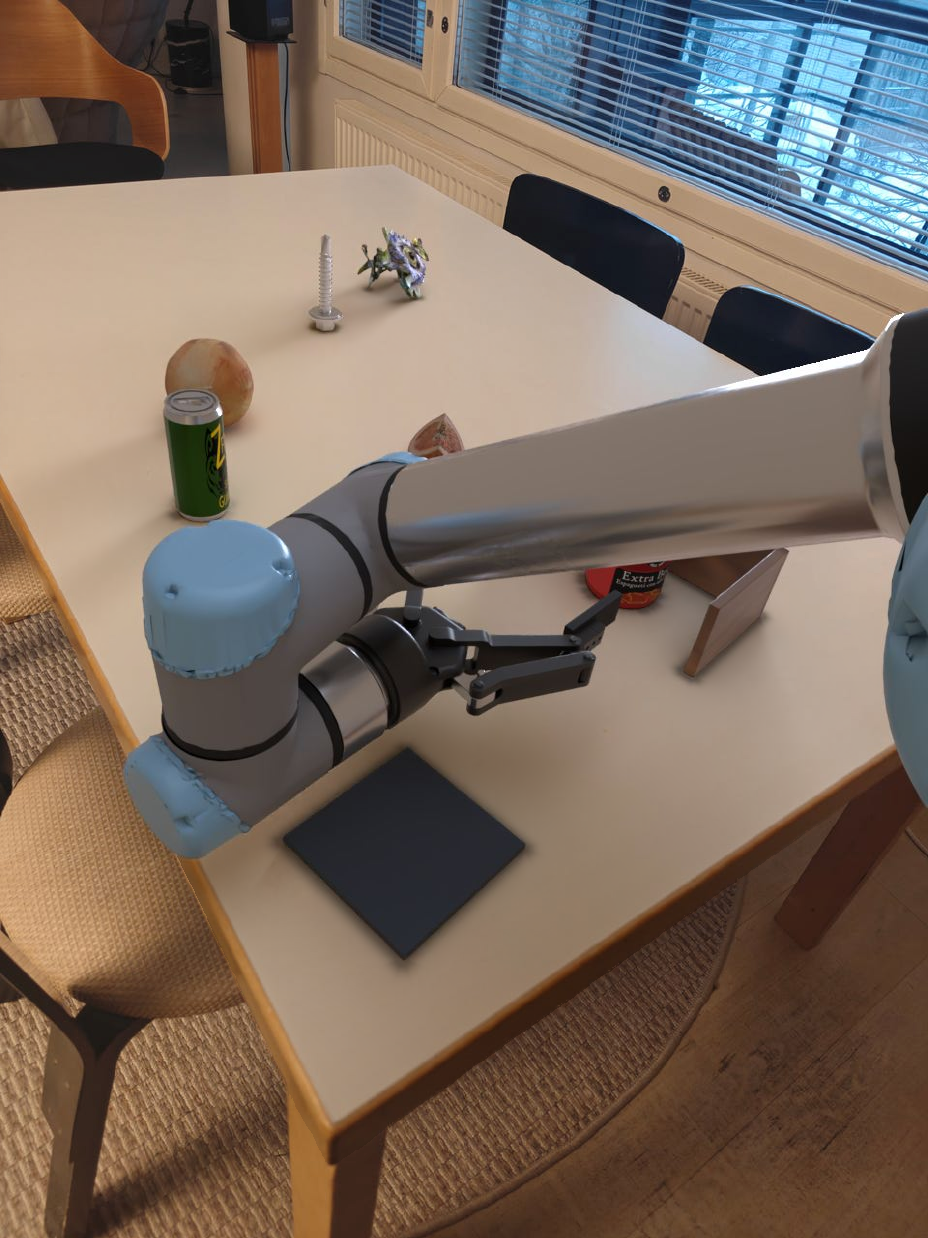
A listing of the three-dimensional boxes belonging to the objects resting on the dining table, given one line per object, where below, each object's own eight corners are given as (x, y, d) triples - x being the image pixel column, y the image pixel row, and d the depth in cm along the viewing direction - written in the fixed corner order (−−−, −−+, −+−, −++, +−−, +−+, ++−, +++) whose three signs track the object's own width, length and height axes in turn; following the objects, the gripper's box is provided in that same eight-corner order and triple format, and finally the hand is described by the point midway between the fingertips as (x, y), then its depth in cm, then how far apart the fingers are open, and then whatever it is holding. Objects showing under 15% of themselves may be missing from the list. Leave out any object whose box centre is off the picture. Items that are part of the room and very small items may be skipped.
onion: (173, 447, 96) (163, 362, 90) (166, 405, 103) (156, 324, 97) (261, 441, 99) (257, 359, 93) (248, 400, 106) (244, 321, 100)
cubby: (760, 615, 85) (789, 550, 79) (693, 677, 77) (720, 609, 72) (569, 507, 96) (583, 444, 90) (492, 551, 88) (503, 484, 83)
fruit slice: (461, 491, 96) (466, 451, 93) (401, 482, 96) (404, 443, 92) (467, 453, 102) (472, 415, 99) (411, 445, 102) (414, 407, 99)
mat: (524, 848, 61) (526, 843, 61) (404, 960, 54) (404, 955, 54) (406, 751, 67) (407, 746, 66) (283, 841, 59) (282, 836, 59)
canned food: (610, 617, 82) (637, 522, 75) (569, 568, 87) (591, 474, 80) (675, 602, 85) (708, 509, 78) (632, 555, 90) (658, 464, 83)
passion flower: (412, 329, 141) (426, 286, 130) (347, 310, 139) (356, 265, 128) (424, 271, 144) (439, 224, 133) (361, 251, 142) (370, 202, 131)
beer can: (174, 524, 85) (160, 415, 78) (176, 494, 89) (162, 387, 82) (230, 522, 87) (221, 414, 79) (230, 493, 91) (221, 387, 83)
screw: (304, 321, 126) (336, 319, 128) (314, 335, 123) (346, 333, 124) (303, 228, 117) (337, 227, 119) (313, 240, 114) (348, 239, 116)
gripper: (244, 632, 66) (435, 531, 79) (485, 833, 55) (662, 677, 68) (239, 554, 61) (443, 460, 74) (502, 756, 50) (689, 604, 63)
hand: (548, 563), depth 71 cm, fingers open, 13 cm apart
